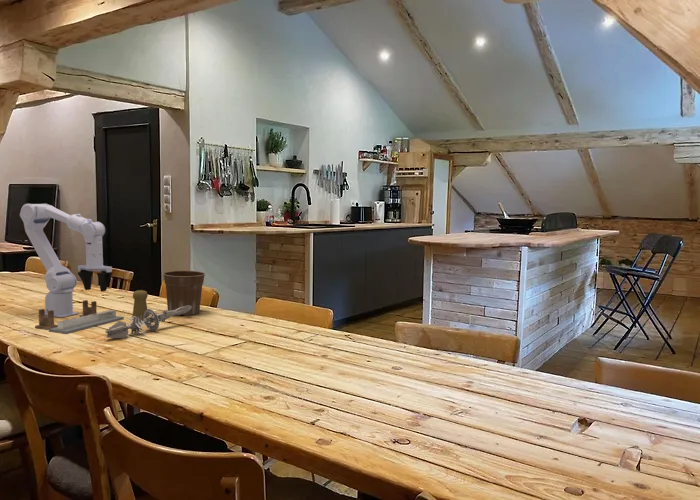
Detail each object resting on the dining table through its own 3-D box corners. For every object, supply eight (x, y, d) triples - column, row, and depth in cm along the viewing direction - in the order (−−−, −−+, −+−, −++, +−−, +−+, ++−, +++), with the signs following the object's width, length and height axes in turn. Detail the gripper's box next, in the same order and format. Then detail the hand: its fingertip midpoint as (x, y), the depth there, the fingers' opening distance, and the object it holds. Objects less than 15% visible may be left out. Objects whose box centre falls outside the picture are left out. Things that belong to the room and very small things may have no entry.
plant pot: (213, 311, 228) (213, 272, 226) (186, 319, 213) (186, 277, 212) (182, 307, 235) (182, 269, 233) (153, 314, 220) (153, 273, 219)
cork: (151, 318, 213) (151, 289, 212) (144, 321, 207) (144, 292, 206) (136, 317, 214) (136, 289, 213) (128, 320, 208) (128, 291, 207)
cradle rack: (35, 327, 194) (34, 310, 193) (87, 315, 215) (87, 299, 214) (48, 329, 191) (47, 311, 191) (100, 317, 213) (99, 300, 212)
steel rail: (57, 329, 189) (57, 322, 189) (110, 316, 212) (110, 309, 211) (63, 330, 188) (62, 323, 188) (116, 316, 211) (115, 310, 211)
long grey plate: (48, 331, 189) (48, 329, 189) (107, 316, 214) (107, 314, 214) (66, 333, 187) (66, 331, 186) (123, 319, 211) (123, 316, 211)
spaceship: (200, 303, 205) (186, 292, 208) (115, 330, 176) (100, 318, 179) (196, 321, 208) (182, 310, 211) (111, 351, 179) (97, 338, 182)
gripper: (70, 254, 208) (72, 290, 210) (101, 256, 203) (102, 293, 204) (85, 253, 215) (87, 288, 216) (115, 254, 210) (116, 290, 211)
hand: (95, 290), depth 211 cm, fingers open, 7 cm apart
